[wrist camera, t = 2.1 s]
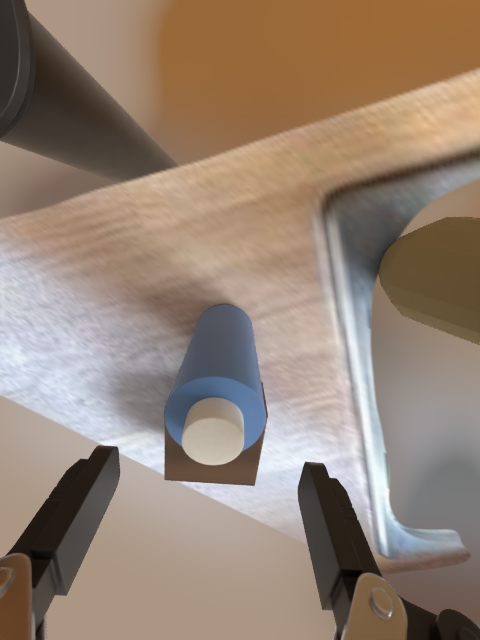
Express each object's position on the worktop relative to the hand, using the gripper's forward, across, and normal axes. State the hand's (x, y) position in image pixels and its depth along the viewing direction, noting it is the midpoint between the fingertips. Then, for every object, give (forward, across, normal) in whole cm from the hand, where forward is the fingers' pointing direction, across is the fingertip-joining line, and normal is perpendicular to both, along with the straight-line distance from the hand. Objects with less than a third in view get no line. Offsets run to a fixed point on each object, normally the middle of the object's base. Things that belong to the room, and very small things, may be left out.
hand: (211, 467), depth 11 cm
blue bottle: (+15, 0, 0) cm, 15 cm away
